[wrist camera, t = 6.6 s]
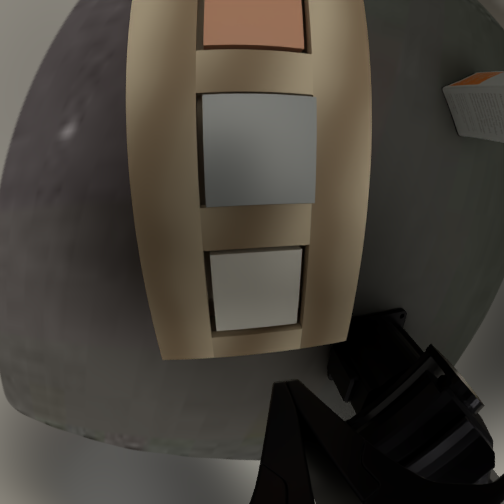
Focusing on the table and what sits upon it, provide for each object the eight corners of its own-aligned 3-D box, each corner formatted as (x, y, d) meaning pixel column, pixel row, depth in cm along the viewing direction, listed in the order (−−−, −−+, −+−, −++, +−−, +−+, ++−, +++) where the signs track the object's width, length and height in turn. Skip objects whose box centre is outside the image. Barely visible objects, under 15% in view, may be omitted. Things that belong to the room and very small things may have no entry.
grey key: (299, 102, 12) (316, 97, 10) (299, 193, 14) (314, 203, 12) (203, 102, 11) (202, 94, 9) (206, 196, 13) (206, 207, 11)
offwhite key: (290, 234, 16) (302, 249, 14) (286, 302, 17) (296, 323, 15) (209, 239, 15) (209, 255, 13) (215, 308, 17) (216, 331, 15)
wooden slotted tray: (330, -7, 12) (357, -32, 8) (324, 306, 20) (346, 340, 16) (152, -12, 10) (139, -44, 7) (168, 320, 19) (162, 360, 15)
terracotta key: (288, -5, 10) (299, -23, 8) (291, 60, 12) (304, 48, 10) (205, -9, 10) (206, -28, 8) (204, 58, 12) (203, 45, 10)
